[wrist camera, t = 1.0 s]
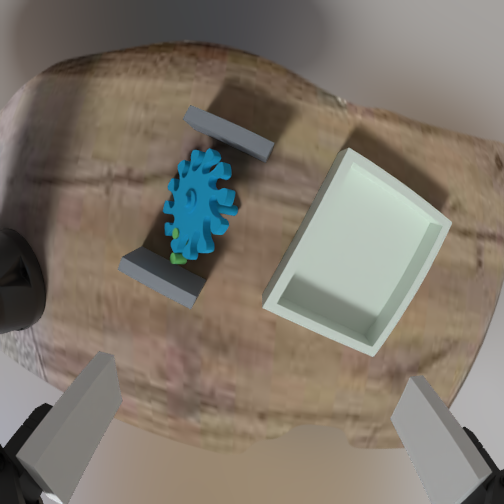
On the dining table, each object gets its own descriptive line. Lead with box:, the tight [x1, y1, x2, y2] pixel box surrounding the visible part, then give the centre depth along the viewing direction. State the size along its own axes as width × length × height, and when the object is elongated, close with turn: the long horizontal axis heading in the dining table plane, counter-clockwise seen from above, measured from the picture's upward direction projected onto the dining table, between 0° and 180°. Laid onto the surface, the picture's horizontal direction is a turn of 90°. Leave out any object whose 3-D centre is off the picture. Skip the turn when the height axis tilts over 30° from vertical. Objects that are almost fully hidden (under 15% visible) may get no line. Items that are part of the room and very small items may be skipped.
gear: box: [163, 148, 238, 264], centre depth 27 cm, size 11×6×10 cm
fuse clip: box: [118, 105, 274, 309], centre depth 26 cm, size 8×16×5 cm, turn 153°
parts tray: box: [262, 148, 452, 357], centre depth 28 cm, size 14×17×4 cm
